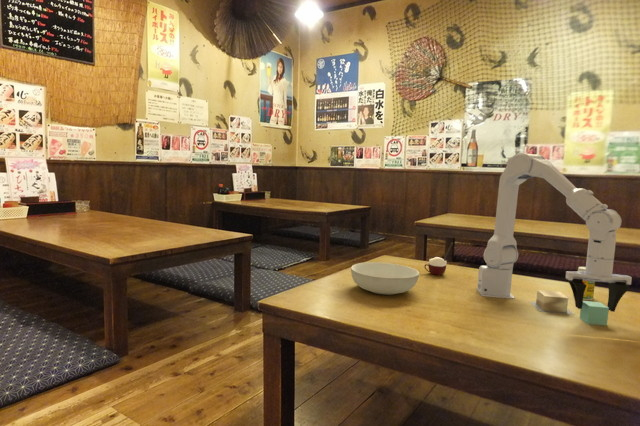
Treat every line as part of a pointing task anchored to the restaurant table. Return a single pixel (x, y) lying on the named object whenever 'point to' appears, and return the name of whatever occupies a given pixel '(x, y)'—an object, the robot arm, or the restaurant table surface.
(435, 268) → the cocoa
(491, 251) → the robot arm
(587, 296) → the supplement bottle
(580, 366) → the restaurant table surface
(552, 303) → the birch block
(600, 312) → the teal cube
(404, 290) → the serving bowl
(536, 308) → the build pad
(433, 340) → the restaurant table surface
